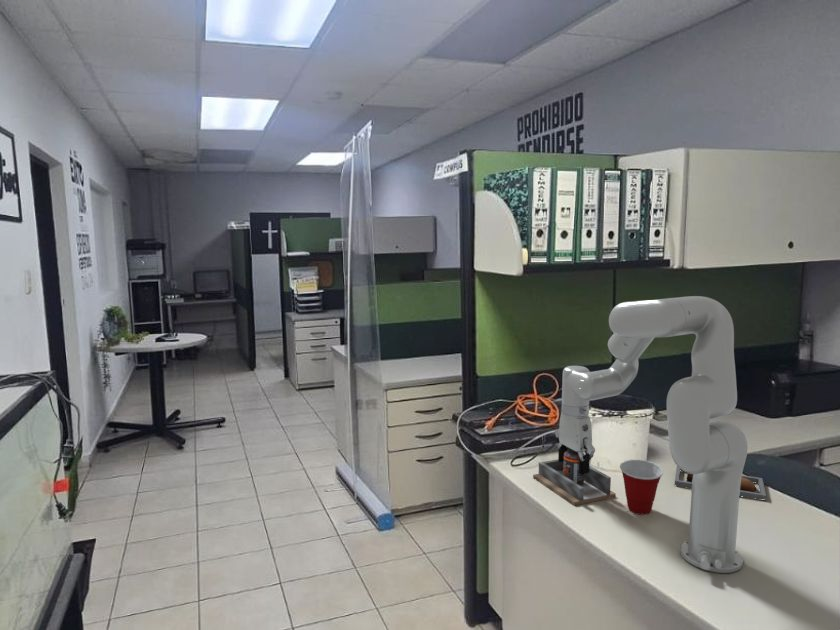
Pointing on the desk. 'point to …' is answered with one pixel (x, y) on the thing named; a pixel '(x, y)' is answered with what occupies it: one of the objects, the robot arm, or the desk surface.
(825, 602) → the desk surface
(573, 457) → the supplement bottle
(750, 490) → the sunglasses case
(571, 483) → the board
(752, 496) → the desk tray frame
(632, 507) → the plastic cup
